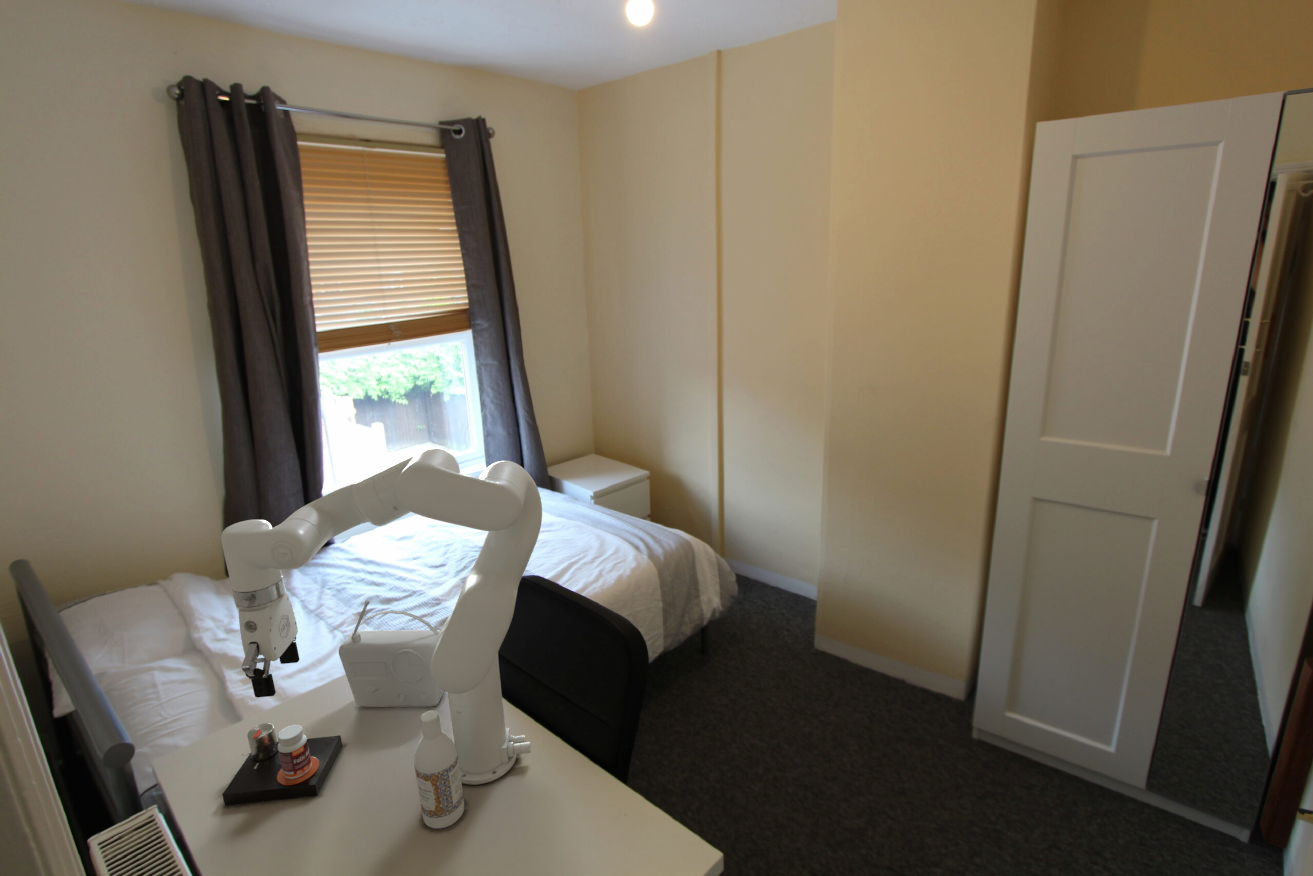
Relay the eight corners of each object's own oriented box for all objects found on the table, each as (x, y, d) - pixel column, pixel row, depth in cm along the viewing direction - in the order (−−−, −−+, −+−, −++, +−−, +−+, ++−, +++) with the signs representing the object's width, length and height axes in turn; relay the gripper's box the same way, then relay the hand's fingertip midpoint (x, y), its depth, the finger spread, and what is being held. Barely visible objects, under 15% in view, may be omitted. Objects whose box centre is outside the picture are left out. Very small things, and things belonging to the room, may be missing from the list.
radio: (343, 713, 142) (324, 609, 135) (361, 689, 150) (343, 589, 143) (443, 712, 141) (428, 607, 134) (456, 688, 149) (443, 588, 142)
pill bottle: (300, 781, 120) (291, 742, 118) (277, 778, 121) (268, 739, 119) (318, 762, 124) (310, 724, 122) (296, 759, 125) (288, 721, 123)
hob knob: (259, 745, 130) (253, 722, 128) (282, 743, 130) (277, 720, 129) (247, 762, 125) (242, 738, 124) (272, 759, 126) (266, 736, 124)
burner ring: (325, 755, 126) (324, 754, 126) (310, 783, 120) (310, 782, 120) (286, 759, 126) (286, 758, 126) (270, 787, 119) (269, 786, 119)
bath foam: (414, 820, 114) (398, 722, 108) (445, 792, 119) (431, 697, 114) (443, 836, 110) (427, 735, 105) (473, 807, 116) (460, 709, 111)
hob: (345, 741, 134) (342, 730, 133) (317, 796, 120) (315, 784, 119) (255, 750, 132) (252, 739, 131) (217, 807, 118) (214, 794, 118)
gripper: (258, 615, 105) (278, 708, 109) (303, 567, 122) (319, 649, 126) (209, 620, 104) (231, 712, 109) (260, 570, 121) (278, 652, 125)
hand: (278, 678), depth 117 cm, fingers open, 9 cm apart
